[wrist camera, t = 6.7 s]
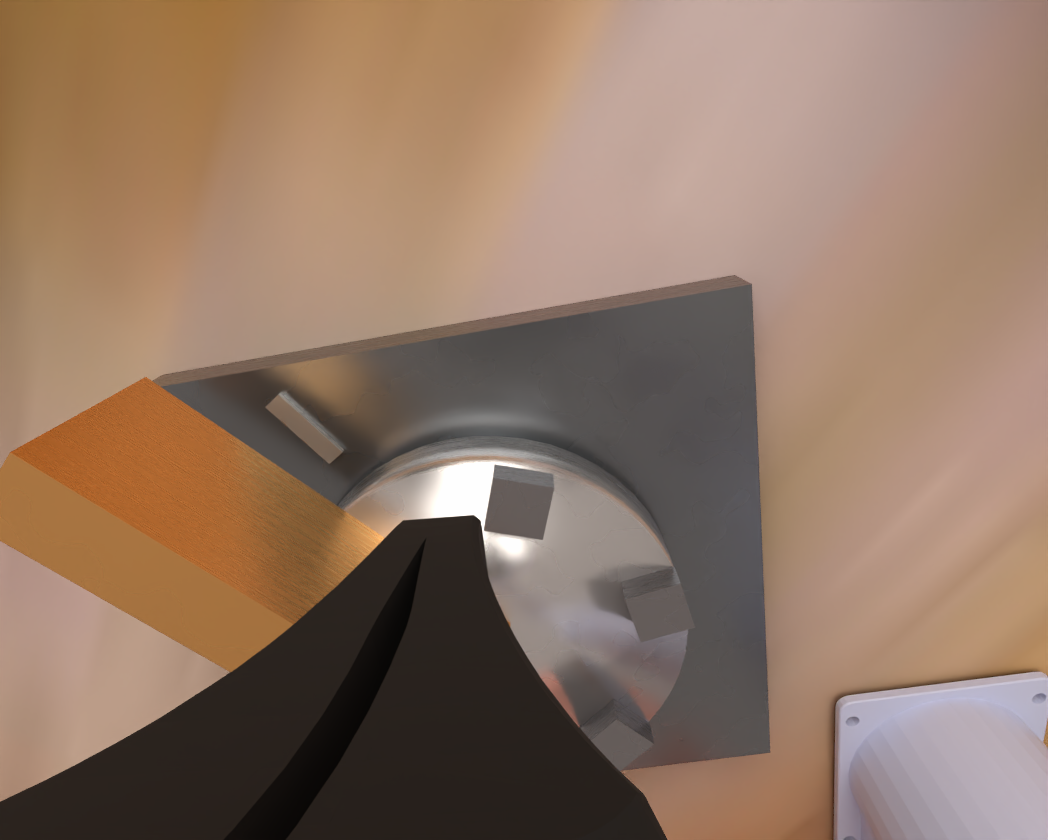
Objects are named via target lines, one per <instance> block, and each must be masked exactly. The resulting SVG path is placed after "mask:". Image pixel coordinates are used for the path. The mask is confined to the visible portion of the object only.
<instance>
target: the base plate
mask: <svg viewBox="0 0 1048 840" xmlns="http://www.w3.org/2000/svg"><path fill="white" fill-rule="evenodd" d="M153 382H154V383H156V384H157V385H159V386H160V387H162V388H163V389H165V390H166V391H168V392H169V393H170V394H172V395H173V396H175V397H176V398H178V399H179V400H181V401H182V402H184V403H185V404H187V405H188V406H190V407H191V408H193V409H194V410H196V411H197V412H199V413H200V414H202V415H203V416H205V417H206V418H208V419H209V420H211V421H212V422H213V423H215V424H216V425H218V426H219V427H221V428H222V429H224V430H225V431H227V432H228V433H230V434H231V435H233V436H234V437H236V438H237V439H239V440H240V441H242V442H243V443H245V444H246V445H248V446H249V447H251V448H252V449H254V450H255V451H257V452H258V453H259V454H261V455H262V456H264V457H265V458H267V459H268V460H270V461H271V462H273V463H274V464H276V465H277V466H279V467H280V468H282V469H283V470H285V471H286V472H288V473H289V474H291V475H292V476H294V477H295V478H297V479H298V480H300V481H301V482H302V483H304V484H305V485H307V486H308V487H310V488H311V489H313V490H314V491H316V492H317V493H319V494H320V495H322V496H323V497H325V498H326V499H328V500H329V501H331V502H332V503H334V504H335V505H337V506H338V505H339V503H340V502H341V501H342V499H343V498H344V497H345V496H346V495H347V494H348V493H349V492H350V491H351V490H352V489H353V488H354V487H355V486H356V485H357V484H358V482H360V481H361V480H362V479H364V478H365V477H366V476H368V475H369V474H370V473H371V472H373V471H374V470H375V469H377V468H378V467H380V466H382V465H383V464H385V463H387V462H389V461H390V460H392V459H394V458H396V457H397V456H400V455H402V454H405V453H407V452H409V451H412V450H414V449H417V448H419V447H422V446H426V445H429V444H433V443H437V442H441V441H444V440H450V439H457V438H464V437H472V436H503V437H512V438H522V439H528V440H532V441H537V442H541V443H545V444H550V445H553V446H555V447H558V448H561V449H564V450H566V451H569V452H572V453H575V454H577V455H579V456H580V457H582V458H584V459H586V460H588V461H590V462H592V463H594V464H596V465H598V466H599V467H601V468H602V469H604V470H605V471H606V472H608V473H609V474H611V475H612V476H614V477H615V478H617V479H618V480H619V481H620V482H621V483H622V484H623V485H624V486H625V487H627V488H628V489H629V490H630V491H631V492H632V493H633V494H634V495H635V496H636V497H637V499H638V500H639V501H640V502H641V503H642V505H643V506H644V507H645V508H646V509H647V511H648V512H649V514H650V515H651V517H652V519H653V520H654V522H655V523H656V525H657V527H658V528H659V530H660V533H661V535H662V537H663V540H664V542H665V545H666V547H667V549H668V552H669V555H670V558H671V560H672V563H673V566H674V567H675V569H676V572H677V575H678V577H679V580H680V583H681V586H682V589H683V592H684V595H685V598H686V601H687V604H688V607H689V611H690V614H691V617H692V620H693V623H694V626H695V628H691V629H688V635H687V645H686V652H685V656H684V660H683V664H682V667H681V671H680V673H679V675H678V678H677V680H676V682H675V684H674V687H673V689H672V691H671V692H670V694H669V695H668V697H667V699H666V700H665V702H664V703H663V705H662V706H661V708H660V709H659V710H658V711H657V712H656V714H655V715H654V716H653V717H652V718H651V720H650V721H649V723H650V727H651V732H652V736H653V741H654V745H652V746H651V747H650V748H649V749H647V750H646V751H645V752H644V753H642V754H641V755H640V756H639V757H637V758H636V759H635V760H633V761H632V762H631V763H630V764H628V765H627V766H626V767H625V768H623V769H622V770H630V769H638V768H646V767H655V766H663V765H671V764H679V763H688V762H696V761H704V760H712V759H721V758H729V757H737V756H746V755H754V754H762V753H770V735H769V710H768V685H767V659H766V634H765V609H764V584H763V558H762V533H761V508H760V483H759V457H758V432H757V407H756V382H755V356H754V331H753V306H752V284H750V283H748V282H747V281H745V280H743V279H741V278H739V277H737V276H735V275H734V276H728V277H722V278H717V279H711V280H705V281H699V282H694V283H688V284H682V285H677V286H671V287H665V288H659V289H654V290H648V291H642V292H636V293H631V294H625V295H619V296H613V297H608V298H602V299H596V300H590V301H585V302H579V303H573V304H568V305H562V306H556V307H550V308H545V309H539V310H533V311H527V312H522V313H516V314H510V315H504V316H499V317H493V318H487V319H482V320H476V321H470V322H464V323H459V324H453V325H447V326H441V327H436V328H430V329H424V330H418V331H413V332H407V333H401V334H395V335H390V336H384V337H378V338H373V339H367V340H361V341H355V342H350V343H344V344H338V345H332V346H327V347H321V348H315V349H309V350H304V351H298V352H292V353H287V354H281V355H275V356H269V357H264V358H258V359H252V360H246V361H241V362H235V363H229V364H223V365H218V366H212V367H206V368H201V369H195V370H189V371H183V372H178V373H172V374H166V375H162V376H160V377H159V378H157V379H155V380H153ZM622 770H621V771H622Z"/></svg>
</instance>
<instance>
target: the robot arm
mask: <svg viewBox="0 0 1048 840" xmlns="http://www.w3.org/2000/svg"><path fill="white" fill-rule="evenodd" d="M849 717H850V718H849ZM1047 719H1048V676H1047V675H1046V674H1045V673H1042V672H1029V673H1021V674H1013V675H1005V676H997V677H989V678H981V679H973V680H965V681H958V682H950V683H942V684H934V685H926V686H918V687H910V688H902V689H894V690H886V691H878V692H870V693H862V694H855V695H847V696H844V697H842V698H840V699H839V700H838V702H837V703H836V708H835V779H834V840H1048V748H1047V747H1046V745H1045V744H1044V743H1043V740H1044V735H1045V729H1046V724H1047ZM0 840H667V838H666V836H665V834H664V832H663V830H662V828H661V826H660V824H659V822H658V821H657V819H656V817H655V815H654V813H653V811H652V809H651V807H650V805H649V803H648V801H647V799H646V797H645V796H644V794H643V793H642V792H641V791H640V790H639V789H638V788H637V787H636V786H635V785H634V784H632V783H631V782H630V781H629V780H628V779H627V778H626V777H625V776H624V775H623V774H622V773H621V772H620V771H619V770H618V769H617V768H616V767H615V766H614V765H613V764H612V763H611V762H610V761H609V760H608V759H607V758H606V756H605V755H604V754H603V753H602V752H601V751H600V750H599V749H598V748H597V747H596V746H595V745H594V744H593V742H592V741H591V740H590V739H589V738H588V737H587V736H586V734H585V733H584V732H583V731H582V730H581V729H580V728H579V727H578V725H577V724H576V723H575V722H574V721H573V720H572V718H571V717H570V716H569V714H568V713H567V712H566V710H565V709H564V708H563V706H562V705H561V704H560V703H559V701H558V700H557V699H556V697H555V696H554V695H553V693H552V692H551V691H550V689H549V688H548V687H547V686H546V684H545V683H544V682H543V680H542V679H541V677H540V676H539V674H538V673H537V671H536V670H535V668H534V667H533V665H532V664H531V662H530V660H529V659H528V657H527V656H526V654H525V652H524V651H523V649H522V647H521V646H520V644H519V642H518V641H517V639H516V637H515V635H514V633H513V631H512V630H511V628H510V626H509V624H508V622H507V620H506V618H505V616H504V614H503V611H502V609H501V607H500V605H499V603H498V601H497V598H496V596H495V593H494V591H493V588H492V586H491V583H490V580H489V576H488V569H487V562H486V554H485V547H484V540H483V532H482V525H481V520H480V519H478V518H477V517H476V516H475V515H466V516H453V517H440V518H427V519H414V520H403V521H402V522H401V523H400V524H398V525H397V526H396V527H395V528H394V529H393V530H392V531H391V532H390V533H389V534H388V535H387V536H386V537H385V538H384V539H383V540H382V541H381V542H380V543H379V544H378V546H377V547H376V548H375V549H374V550H373V551H372V552H371V553H370V554H369V555H368V556H367V557H366V558H365V559H364V560H363V561H362V562H361V563H360V564H359V565H358V566H357V567H356V568H355V569H354V570H353V571H352V572H351V573H349V574H348V575H347V576H346V577H345V578H344V579H343V580H342V581H341V582H340V583H339V584H338V585H337V586H336V587H335V588H334V589H333V590H332V591H331V592H329V593H328V594H327V595H326V596H325V597H324V598H323V599H322V600H320V601H319V602H318V603H317V604H316V605H315V606H314V607H313V608H311V609H310V610H309V611H308V612H307V613H306V614H305V615H304V616H302V617H301V618H300V619H299V620H298V621H297V622H296V623H295V624H293V625H292V626H291V627H290V628H289V629H287V630H286V631H285V632H284V633H282V634H281V635H280V636H279V637H277V638H276V639H275V640H274V641H272V642H271V643H270V644H269V645H267V646H266V647H265V648H263V649H262V650H261V651H259V652H258V653H256V654H255V655H254V656H252V657H251V658H250V659H248V660H247V661H246V662H244V663H243V664H242V665H240V666H239V667H238V668H236V669H235V670H233V671H232V672H230V673H229V674H228V675H226V676H225V677H223V678H222V679H220V680H218V681H217V682H215V683H214V684H212V685H211V686H209V687H208V688H206V689H204V690H203V691H201V692H200V693H198V694H197V695H195V696H194V697H192V698H190V699H189V700H187V701H186V702H184V703H183V704H181V705H180V706H178V707H176V708H175V709H173V710H172V711H170V712H169V713H167V714H166V715H164V716H162V717H161V718H159V719H157V720H156V721H154V722H152V723H151V724H149V725H147V726H145V727H144V728H142V729H140V730H138V731H137V732H135V733H133V734H131V735H130V736H128V737H126V738H124V739H123V740H121V741H119V742H117V743H116V744H114V745H112V746H110V747H108V748H106V749H104V750H103V751H101V752H99V753H97V754H95V755H93V756H91V757H90V758H88V759H86V760H84V761H82V762H80V763H78V764H77V765H75V766H73V767H71V768H69V769H67V770H65V771H63V772H61V773H59V774H57V775H55V776H53V777H51V778H49V779H47V780H45V781H43V782H41V783H39V784H37V785H35V786H33V787H30V788H28V789H26V790H24V791H22V792H20V793H18V794H16V795H14V796H12V797H9V798H7V799H5V800H3V801H1V802H0Z"/></svg>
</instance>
